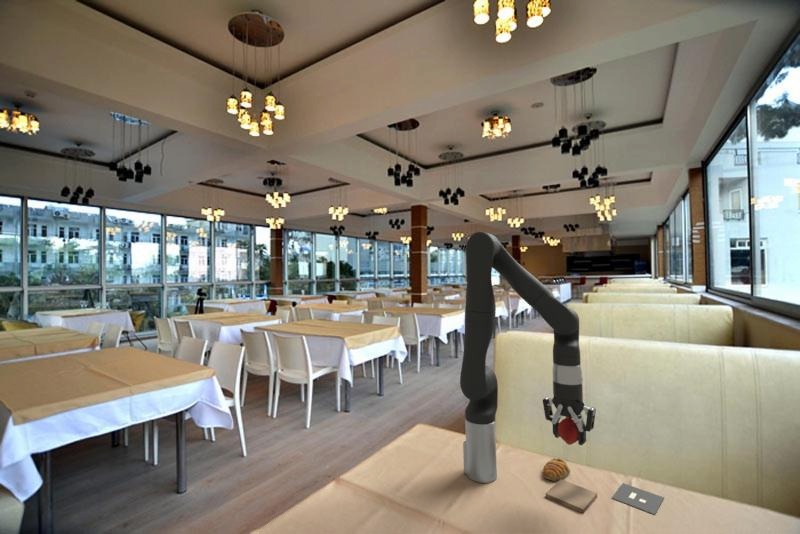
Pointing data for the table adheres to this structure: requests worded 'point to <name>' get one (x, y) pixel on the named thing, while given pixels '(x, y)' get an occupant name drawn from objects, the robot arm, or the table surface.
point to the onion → (568, 430)
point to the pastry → (556, 469)
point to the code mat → (638, 498)
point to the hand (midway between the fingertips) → (569, 440)
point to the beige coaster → (571, 495)
